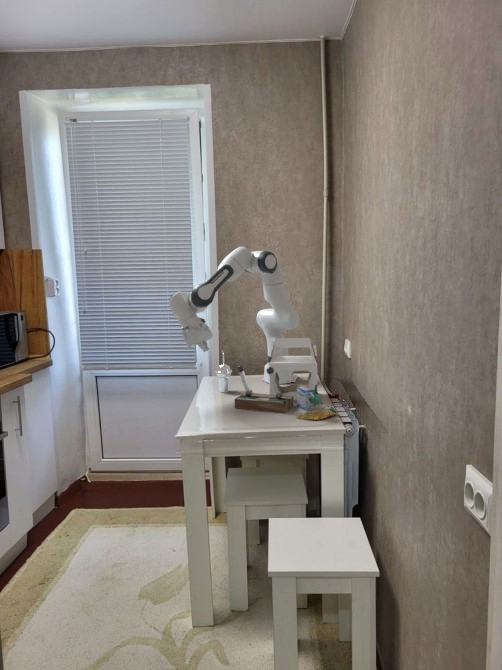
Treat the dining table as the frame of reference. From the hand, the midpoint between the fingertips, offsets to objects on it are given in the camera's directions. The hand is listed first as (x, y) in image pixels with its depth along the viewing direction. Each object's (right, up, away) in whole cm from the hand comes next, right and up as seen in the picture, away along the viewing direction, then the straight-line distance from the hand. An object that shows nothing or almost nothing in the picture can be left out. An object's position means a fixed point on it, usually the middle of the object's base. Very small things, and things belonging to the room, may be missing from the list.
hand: (206, 350), depth 220 cm
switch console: (+26, -24, -9) cm, 37 cm away
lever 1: (+20, -20, -7) cm, 29 cm away
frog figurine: (+47, -26, -26) cm, 60 cm away
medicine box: (+44, -24, -12) cm, 51 cm away
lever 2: (+33, -20, -12) cm, 41 cm away
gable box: (+40, -22, +6) cm, 46 cm away
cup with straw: (+7, -21, +20) cm, 30 cm away
